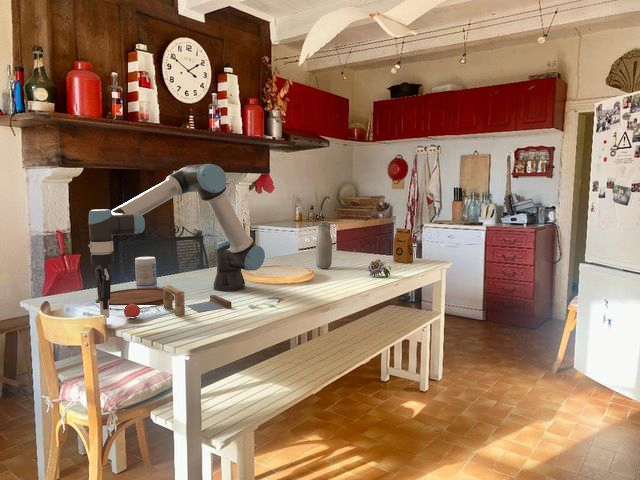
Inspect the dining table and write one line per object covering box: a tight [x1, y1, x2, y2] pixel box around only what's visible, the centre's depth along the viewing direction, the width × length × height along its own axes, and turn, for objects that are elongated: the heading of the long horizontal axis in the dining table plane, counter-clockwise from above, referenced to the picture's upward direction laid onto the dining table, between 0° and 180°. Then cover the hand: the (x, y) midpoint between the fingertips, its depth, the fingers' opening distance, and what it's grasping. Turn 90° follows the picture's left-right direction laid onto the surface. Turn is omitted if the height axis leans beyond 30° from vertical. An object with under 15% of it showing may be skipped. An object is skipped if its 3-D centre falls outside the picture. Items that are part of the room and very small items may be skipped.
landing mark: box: [185, 300, 226, 313], centre depth 200 cm, size 13×13×1 cm
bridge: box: [162, 284, 186, 317], centre depth 191 cm, size 3×15×9 cm, turn 38°
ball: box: [123, 304, 141, 318], centre depth 181 cm, size 6×6×6 cm
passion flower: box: [365, 258, 392, 279], centre depth 266 cm, size 11×11×12 cm
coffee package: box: [393, 227, 415, 264], centre depth 313 cm, size 10×12×22 cm
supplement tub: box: [134, 256, 158, 288], centre depth 234 cm, size 10×10×15 cm
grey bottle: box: [315, 221, 333, 270], centre depth 288 cm, size 10×10×28 cm
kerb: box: [209, 294, 233, 310], centre depth 203 cm, size 2×16×2 cm, turn 38°
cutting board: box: [94, 287, 175, 306], centre depth 210 cm, size 32×32×2 cm
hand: (105, 317), depth 176 cm, fingers closed
